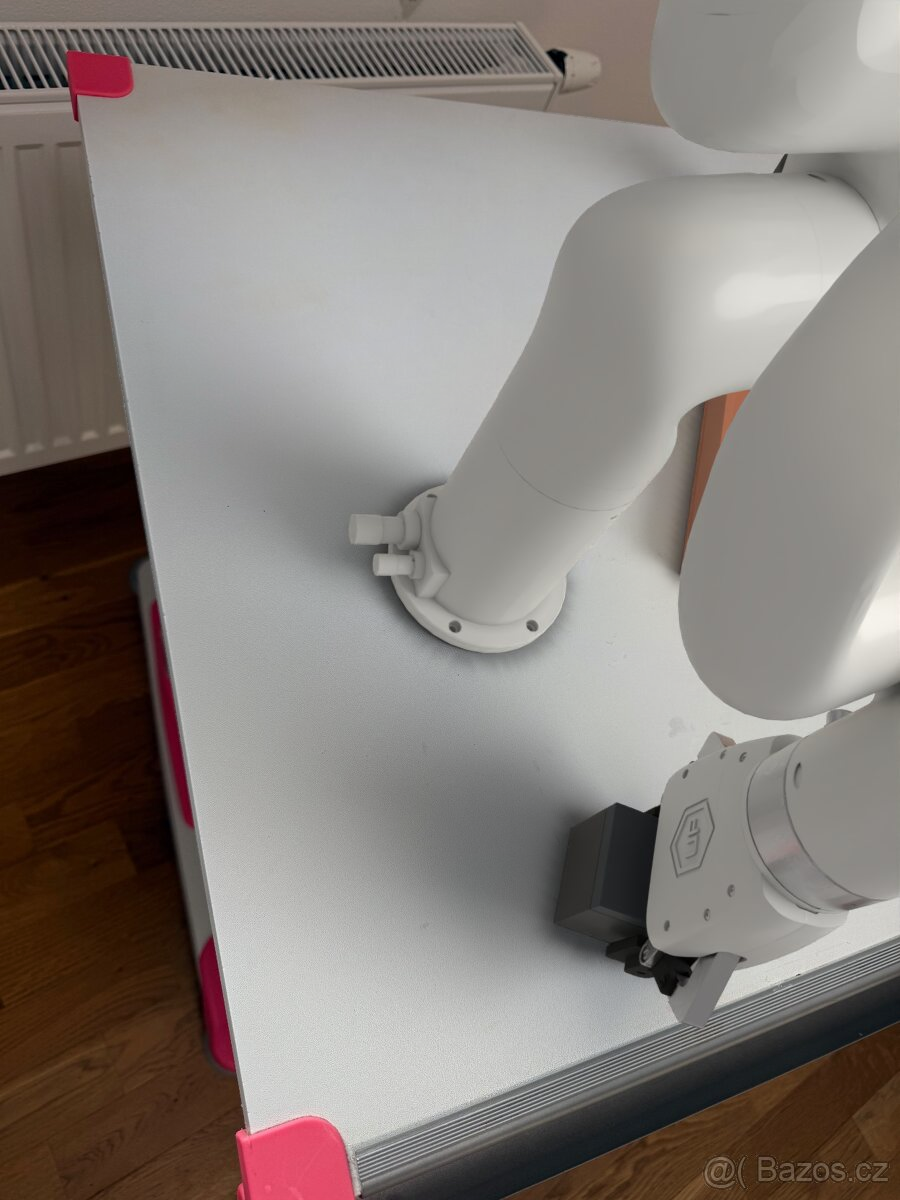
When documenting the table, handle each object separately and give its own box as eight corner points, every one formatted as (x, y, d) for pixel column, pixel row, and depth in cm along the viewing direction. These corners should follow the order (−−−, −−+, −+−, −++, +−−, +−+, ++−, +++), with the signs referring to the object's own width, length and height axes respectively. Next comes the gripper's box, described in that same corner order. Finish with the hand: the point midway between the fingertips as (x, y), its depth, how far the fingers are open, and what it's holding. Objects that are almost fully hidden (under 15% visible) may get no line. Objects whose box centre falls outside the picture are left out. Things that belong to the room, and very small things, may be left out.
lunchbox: (553, 923, 57) (599, 905, 52) (571, 827, 60) (616, 801, 55) (687, 970, 58) (745, 957, 53) (698, 874, 61) (753, 853, 56)
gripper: (771, 628, 47) (604, 744, 62) (742, 996, 38) (554, 1028, 53) (900, 683, 48) (706, 784, 63) (902, 1053, 39) (675, 1068, 54)
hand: (638, 895), depth 58 cm, fingers open, 6 cm apart
